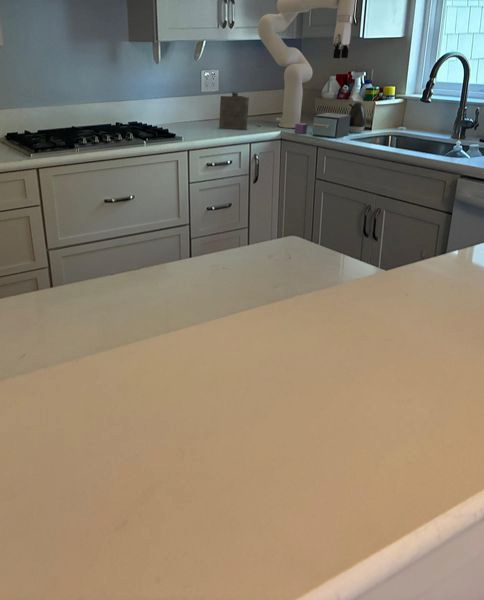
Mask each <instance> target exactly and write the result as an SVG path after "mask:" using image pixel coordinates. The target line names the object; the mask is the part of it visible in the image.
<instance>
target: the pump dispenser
mask: <svg viewBox="0 0 484 600" xmlns="http://www.w3.org/2000/svg"><path fill="white" fill-rule="evenodd" d="M348 106H349V107H350V108H349V110H348V112H347V115H351V117H350V124H349V132H348V133H351V134H360V133H362V132H363V131H364V129H365V127H366V124H367V118H366V109H365V107H364V104H363V103H362V102H360V101H354V102H353V104H352V103H349V104H348Z"/></svg>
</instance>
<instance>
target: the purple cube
mask: <svg viewBox="0 0 484 600" xmlns="http://www.w3.org/2000/svg"><path fill="white" fill-rule="evenodd" d="M307 133H308V123H304V122H303V123H302V122H300V123H297V124H295V128H294V134H299V135H305V134H307Z"/></svg>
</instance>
